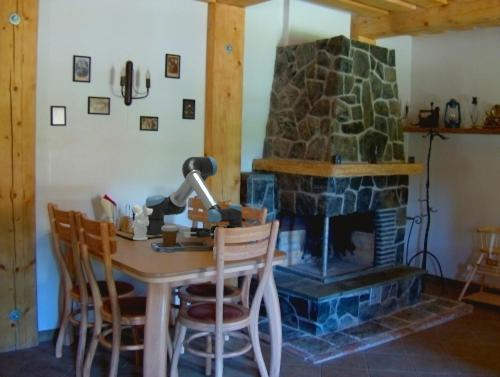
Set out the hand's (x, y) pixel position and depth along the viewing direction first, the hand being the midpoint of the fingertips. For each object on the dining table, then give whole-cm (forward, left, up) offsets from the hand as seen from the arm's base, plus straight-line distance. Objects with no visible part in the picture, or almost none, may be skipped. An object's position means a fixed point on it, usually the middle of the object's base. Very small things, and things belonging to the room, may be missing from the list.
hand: (181, 232), depth 321 cm
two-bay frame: (0, 0, -9) cm, 9 cm away
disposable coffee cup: (-3, -6, -9) cm, 11 cm away
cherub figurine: (-31, -16, -9) cm, 36 cm away
